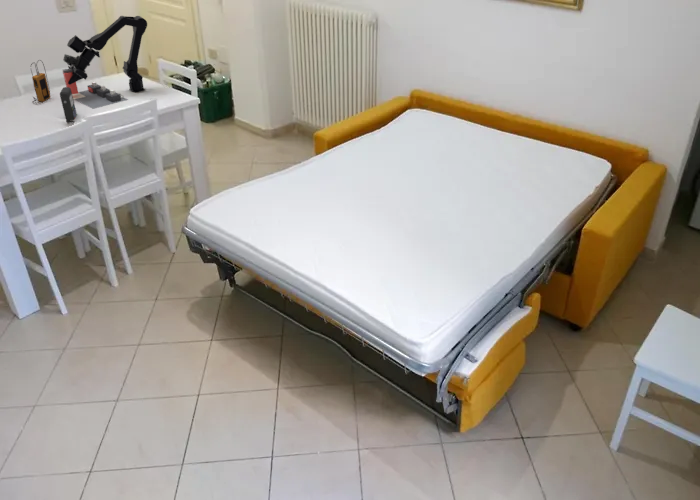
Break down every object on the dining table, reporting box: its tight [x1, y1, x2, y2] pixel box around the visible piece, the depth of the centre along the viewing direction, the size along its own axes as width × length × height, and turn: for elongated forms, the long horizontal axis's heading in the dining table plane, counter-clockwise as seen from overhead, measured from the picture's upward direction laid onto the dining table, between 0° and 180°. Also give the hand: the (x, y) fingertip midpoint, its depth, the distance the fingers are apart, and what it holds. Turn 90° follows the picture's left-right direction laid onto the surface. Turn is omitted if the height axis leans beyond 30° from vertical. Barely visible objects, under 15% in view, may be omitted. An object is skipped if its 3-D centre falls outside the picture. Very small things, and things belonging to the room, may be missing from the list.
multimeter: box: [30, 59, 51, 105], centre depth 303 cm, size 15×10×20 cm
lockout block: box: [62, 68, 79, 94], centre depth 304 cm, size 5×4×12 cm
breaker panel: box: [72, 81, 129, 110], centre depth 308 cm, size 22×28×6 cm
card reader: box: [59, 86, 78, 124], centre depth 282 cm, size 9×4×15 cm, turn 12°
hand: (67, 82), depth 304 cm, fingers closed on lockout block, 4 cm apart
